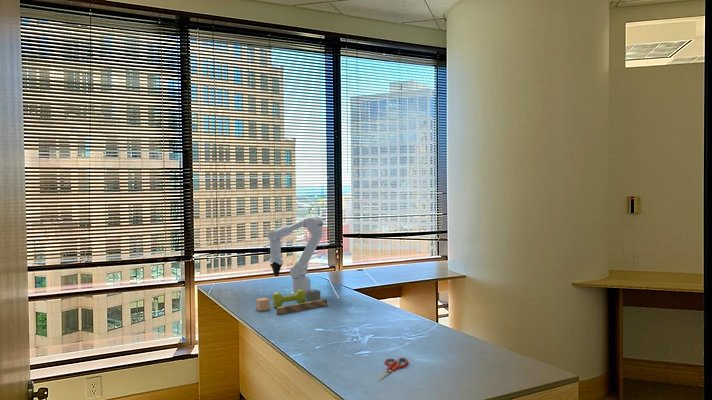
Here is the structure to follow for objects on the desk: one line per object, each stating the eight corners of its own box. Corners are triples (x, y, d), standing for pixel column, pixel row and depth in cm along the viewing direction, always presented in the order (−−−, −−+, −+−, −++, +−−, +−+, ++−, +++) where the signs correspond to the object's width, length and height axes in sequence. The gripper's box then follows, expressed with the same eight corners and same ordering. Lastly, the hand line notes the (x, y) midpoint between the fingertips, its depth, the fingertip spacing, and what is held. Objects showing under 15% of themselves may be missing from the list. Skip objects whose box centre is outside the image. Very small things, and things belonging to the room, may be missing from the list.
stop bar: (325, 304, 244) (325, 298, 244) (327, 305, 242) (327, 299, 242) (276, 313, 230) (276, 307, 230) (278, 314, 228) (278, 308, 228)
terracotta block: (265, 307, 243) (265, 297, 243) (269, 309, 239) (269, 299, 239) (256, 309, 241) (255, 299, 241) (260, 311, 236) (259, 300, 236)
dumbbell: (302, 301, 253) (302, 287, 253) (307, 304, 246) (307, 290, 246) (271, 306, 247) (270, 291, 246) (275, 309, 239) (275, 294, 239)
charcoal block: (316, 298, 259) (315, 289, 258) (320, 300, 254) (320, 290, 254) (307, 300, 256) (307, 290, 256) (312, 302, 252) (311, 292, 251)
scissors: (372, 385, 143) (372, 380, 143) (386, 360, 164) (386, 356, 164) (398, 387, 141) (398, 382, 141) (409, 361, 162) (409, 357, 162)
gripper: (263, 251, 281) (264, 275, 281) (274, 253, 269) (275, 278, 269) (275, 250, 285) (276, 273, 285) (286, 252, 273) (287, 276, 273)
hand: (276, 275), depth 277 cm, fingers closed
